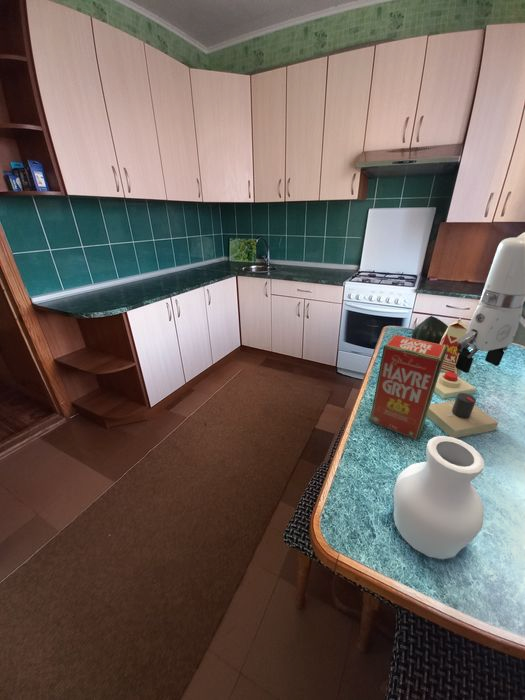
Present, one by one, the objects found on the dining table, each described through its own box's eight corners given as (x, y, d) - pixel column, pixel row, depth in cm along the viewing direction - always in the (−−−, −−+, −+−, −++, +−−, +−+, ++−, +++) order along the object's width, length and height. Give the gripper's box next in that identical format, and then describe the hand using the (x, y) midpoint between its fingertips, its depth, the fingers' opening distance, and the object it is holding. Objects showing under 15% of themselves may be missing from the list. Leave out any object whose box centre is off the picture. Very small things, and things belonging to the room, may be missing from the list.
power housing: (450, 377, 104) (453, 368, 102) (474, 393, 95) (478, 383, 93) (421, 382, 102) (424, 372, 100) (443, 399, 93) (446, 388, 91)
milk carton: (456, 375, 105) (473, 324, 96) (428, 367, 110) (442, 318, 101) (461, 366, 111) (478, 317, 102) (435, 358, 116) (449, 311, 107)
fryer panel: (462, 406, 89) (465, 398, 88) (495, 430, 80) (499, 421, 78) (423, 413, 87) (425, 405, 85) (451, 439, 77) (455, 430, 76)
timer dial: (448, 409, 84) (453, 393, 81) (460, 407, 84) (467, 391, 82) (460, 419, 80) (466, 402, 77) (473, 417, 80) (480, 400, 78)
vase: (385, 546, 54) (407, 471, 45) (388, 485, 65) (407, 415, 56) (476, 582, 49) (522, 505, 39) (462, 508, 60) (496, 435, 51)
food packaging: (367, 421, 84) (382, 344, 73) (378, 405, 91) (393, 332, 79) (417, 441, 77) (442, 359, 65) (425, 422, 83) (449, 344, 72)
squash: (456, 350, 110) (458, 314, 114) (413, 346, 116) (416, 311, 119) (446, 359, 123) (448, 326, 127) (407, 355, 128) (410, 324, 132)
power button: (450, 375, 99) (451, 371, 98) (458, 381, 95) (460, 376, 95) (441, 376, 98) (442, 372, 97) (449, 382, 95) (451, 378, 94)
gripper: (489, 308, 57) (463, 381, 65) (549, 299, 62) (518, 367, 70) (456, 298, 64) (436, 365, 72) (512, 290, 68) (488, 354, 76)
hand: (476, 366), depth 71 cm, fingers open, 9 cm apart
